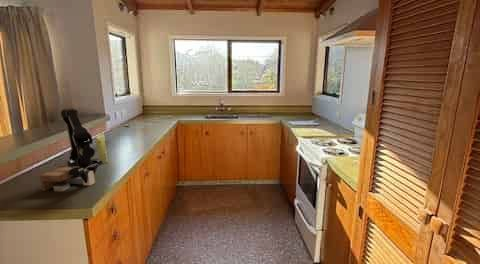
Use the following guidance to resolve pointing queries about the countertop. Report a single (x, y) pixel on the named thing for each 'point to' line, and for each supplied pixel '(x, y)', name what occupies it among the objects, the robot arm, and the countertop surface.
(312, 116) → the countertop surface
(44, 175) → the brown wooden slab
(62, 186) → the token
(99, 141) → the tube
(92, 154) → the robot arm
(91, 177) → the cube on a stick
